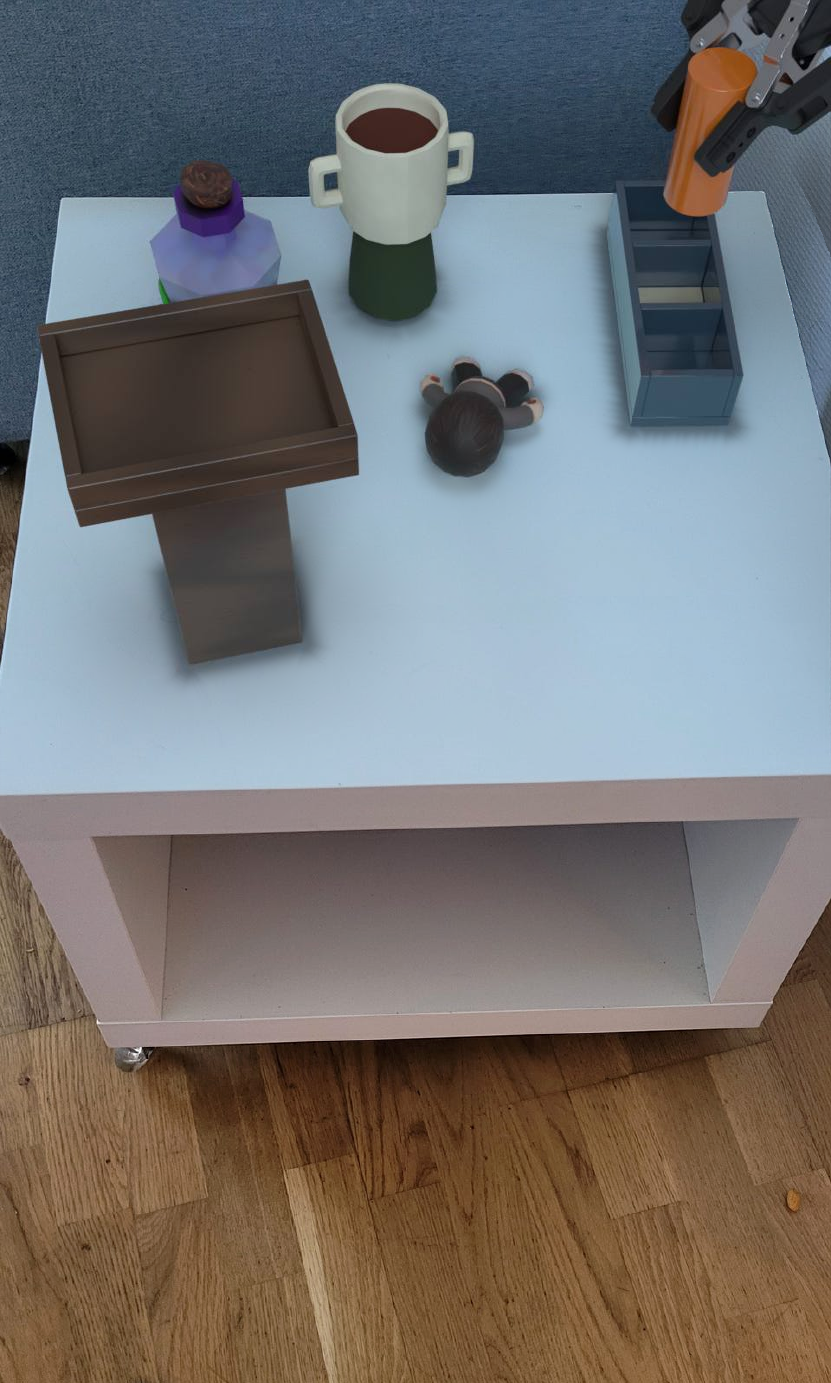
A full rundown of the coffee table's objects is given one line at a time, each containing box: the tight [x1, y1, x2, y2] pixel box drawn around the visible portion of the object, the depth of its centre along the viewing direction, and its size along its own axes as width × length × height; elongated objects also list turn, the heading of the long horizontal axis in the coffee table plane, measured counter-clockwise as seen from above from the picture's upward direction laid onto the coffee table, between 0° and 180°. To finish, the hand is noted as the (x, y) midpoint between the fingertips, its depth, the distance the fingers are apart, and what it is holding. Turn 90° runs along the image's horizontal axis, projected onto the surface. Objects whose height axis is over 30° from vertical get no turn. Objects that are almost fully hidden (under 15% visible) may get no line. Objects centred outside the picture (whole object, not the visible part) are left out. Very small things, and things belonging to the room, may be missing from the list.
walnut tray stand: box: [36, 279, 360, 666], centre depth 72 cm, size 14×11×18 cm
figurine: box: [419, 356, 544, 478], centre depth 85 cm, size 8×5×10 cm
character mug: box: [307, 82, 475, 322], centre depth 86 cm, size 11×7×13 cm, turn 106°
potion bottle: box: [149, 159, 282, 304], centre depth 85 cm, size 9×9×12 cm
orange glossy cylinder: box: [663, 47, 759, 216], centre depth 79 cm, size 4×4×8 cm
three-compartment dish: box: [606, 179, 744, 427], centre depth 89 cm, size 7×19×4 cm, turn 1°
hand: (682, 144), depth 78 cm, fingers closed on orange glossy cylinder, 4 cm apart
